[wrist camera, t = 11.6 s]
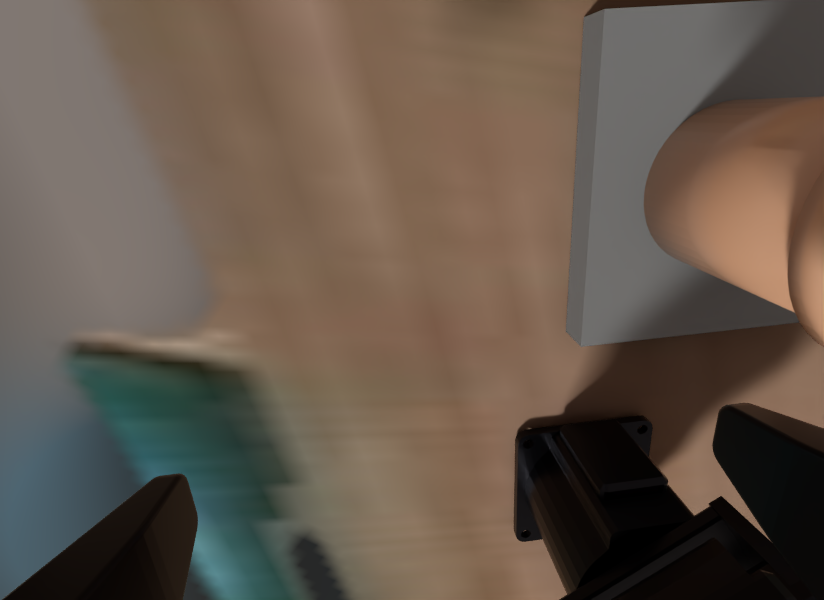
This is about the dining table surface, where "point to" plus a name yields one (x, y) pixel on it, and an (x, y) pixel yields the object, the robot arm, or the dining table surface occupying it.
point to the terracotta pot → (747, 200)
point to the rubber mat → (643, 138)
